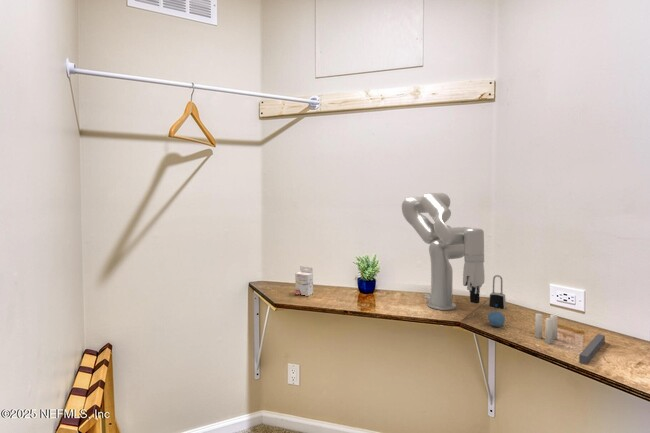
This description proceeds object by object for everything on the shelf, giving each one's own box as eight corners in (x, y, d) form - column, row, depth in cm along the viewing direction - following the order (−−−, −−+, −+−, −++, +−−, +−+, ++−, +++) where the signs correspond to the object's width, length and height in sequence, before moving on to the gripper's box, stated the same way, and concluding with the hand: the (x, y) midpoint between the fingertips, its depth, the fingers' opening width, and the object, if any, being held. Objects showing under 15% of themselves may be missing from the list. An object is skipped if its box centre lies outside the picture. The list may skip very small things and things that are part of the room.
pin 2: (548, 338, 126) (549, 315, 126) (550, 337, 127) (551, 314, 127) (555, 340, 124) (556, 317, 124) (557, 338, 126) (558, 315, 125)
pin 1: (544, 342, 123) (544, 318, 122) (546, 340, 124) (546, 317, 124) (551, 344, 121) (551, 320, 121) (553, 342, 123) (554, 319, 122)
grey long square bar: (579, 362, 108) (579, 354, 108) (597, 340, 124) (597, 333, 124) (587, 364, 107) (587, 356, 106) (604, 342, 122) (604, 335, 122)
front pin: (534, 337, 127) (534, 314, 127) (536, 335, 129) (536, 313, 128) (540, 339, 126) (541, 316, 125) (542, 337, 127) (543, 314, 127)
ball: (485, 326, 139) (485, 311, 139) (491, 322, 143) (492, 307, 142) (500, 330, 134) (501, 315, 134) (507, 326, 138) (507, 311, 138)
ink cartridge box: (295, 294, 186) (294, 267, 186) (300, 292, 191) (300, 265, 190) (308, 297, 182) (307, 269, 181) (313, 294, 186) (313, 267, 185)
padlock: (488, 306, 163) (488, 275, 162) (490, 304, 166) (490, 273, 165) (504, 309, 159) (504, 276, 158) (506, 307, 162) (506, 275, 161)
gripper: (473, 255, 152) (474, 297, 152) (456, 259, 142) (457, 304, 142) (491, 257, 146) (491, 300, 146) (474, 261, 136) (475, 308, 137)
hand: (474, 302), depth 144 cm, fingers closed
